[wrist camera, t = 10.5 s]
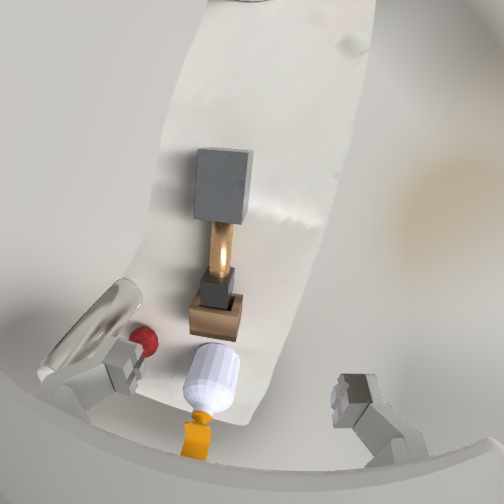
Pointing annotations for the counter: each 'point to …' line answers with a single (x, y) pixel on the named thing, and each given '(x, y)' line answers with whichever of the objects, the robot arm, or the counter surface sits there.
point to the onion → (145, 340)
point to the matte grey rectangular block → (222, 184)
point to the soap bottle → (208, 394)
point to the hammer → (218, 269)
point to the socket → (216, 319)
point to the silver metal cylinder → (94, 327)
